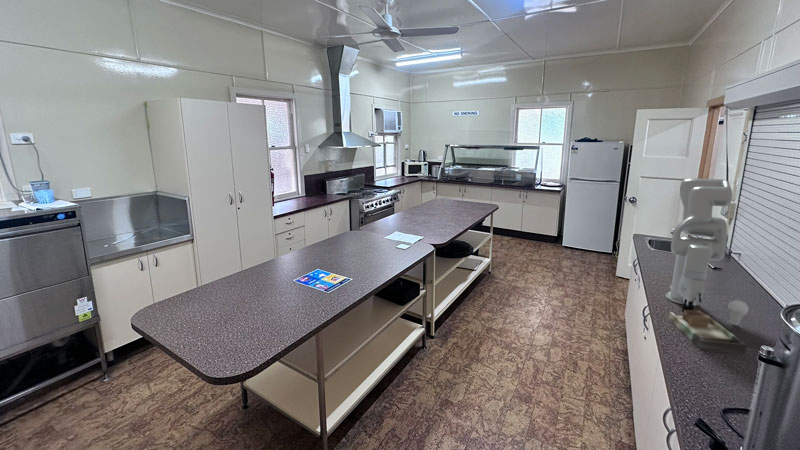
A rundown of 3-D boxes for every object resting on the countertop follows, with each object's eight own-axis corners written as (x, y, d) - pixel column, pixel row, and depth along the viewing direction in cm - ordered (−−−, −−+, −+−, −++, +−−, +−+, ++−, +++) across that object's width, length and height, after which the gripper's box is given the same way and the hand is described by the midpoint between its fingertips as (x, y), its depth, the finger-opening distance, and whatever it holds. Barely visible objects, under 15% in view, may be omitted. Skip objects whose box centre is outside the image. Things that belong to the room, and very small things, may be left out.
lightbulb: (725, 325, 146) (730, 302, 144) (723, 319, 151) (728, 296, 148) (745, 330, 143) (751, 306, 140) (743, 324, 147) (748, 300, 145)
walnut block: (682, 318, 149) (683, 309, 149) (698, 319, 148) (700, 310, 147) (690, 325, 144) (692, 316, 143) (707, 326, 143) (709, 317, 142)
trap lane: (668, 319, 153) (669, 312, 152) (705, 321, 150) (706, 314, 149) (701, 349, 131) (702, 341, 130) (745, 353, 128) (747, 345, 127)
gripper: (674, 267, 155) (668, 304, 159) (694, 279, 140) (687, 321, 145) (694, 267, 153) (686, 306, 157) (716, 280, 139) (708, 322, 143)
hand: (687, 313), depth 151 cm, fingers closed
